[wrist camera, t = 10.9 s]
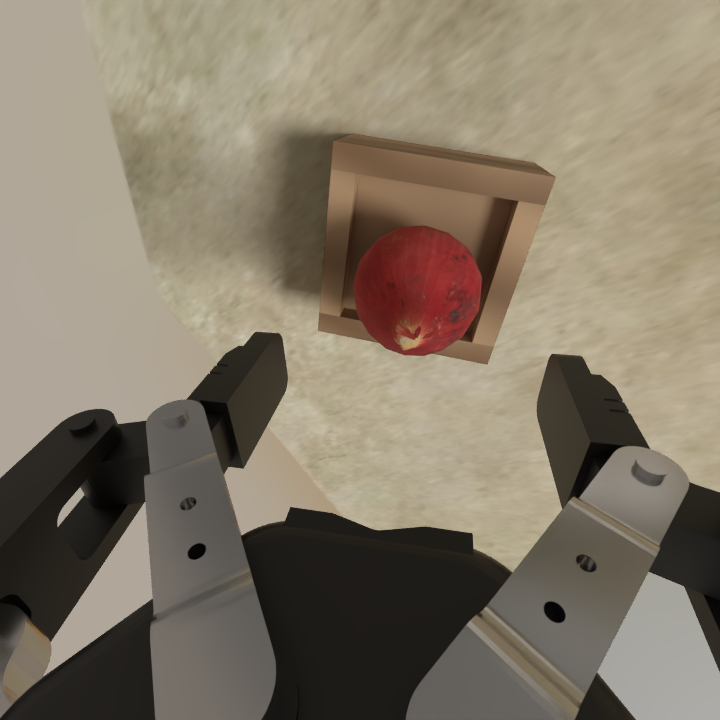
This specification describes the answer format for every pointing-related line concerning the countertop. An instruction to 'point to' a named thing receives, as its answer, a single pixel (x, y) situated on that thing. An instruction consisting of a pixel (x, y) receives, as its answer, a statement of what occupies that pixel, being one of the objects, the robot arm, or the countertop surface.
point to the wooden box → (429, 223)
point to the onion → (417, 290)
